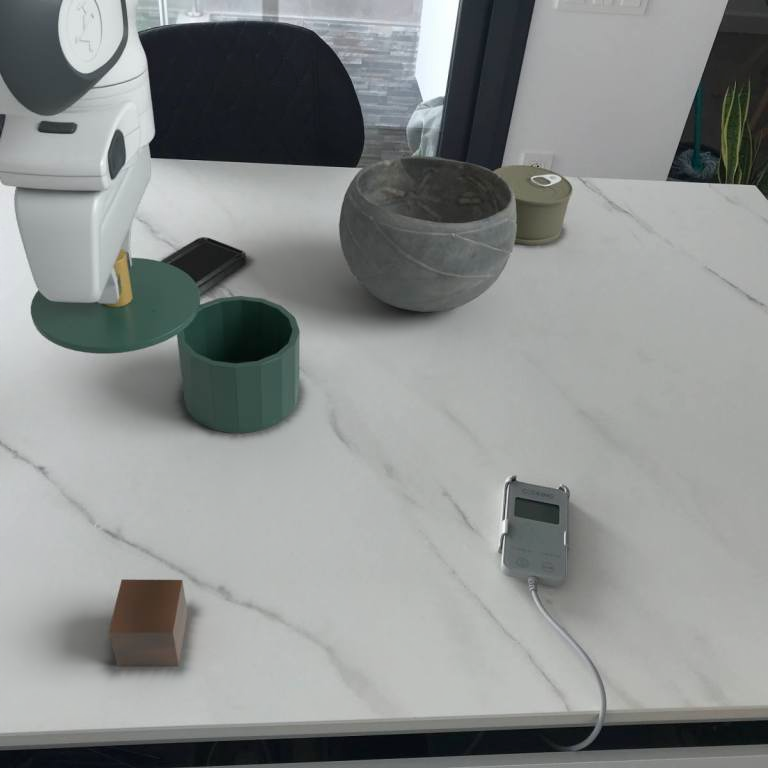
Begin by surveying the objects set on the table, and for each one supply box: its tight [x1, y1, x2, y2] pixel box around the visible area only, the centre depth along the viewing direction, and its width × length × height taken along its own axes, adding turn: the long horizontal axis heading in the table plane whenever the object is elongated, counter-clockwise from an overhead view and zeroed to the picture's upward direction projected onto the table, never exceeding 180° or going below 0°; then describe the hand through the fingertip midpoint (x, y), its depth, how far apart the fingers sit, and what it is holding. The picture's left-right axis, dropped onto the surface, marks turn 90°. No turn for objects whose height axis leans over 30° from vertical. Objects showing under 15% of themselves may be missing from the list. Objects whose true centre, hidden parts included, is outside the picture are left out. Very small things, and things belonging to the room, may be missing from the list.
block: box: [108, 578, 188, 667], centre depth 58 cm, size 4×4×4 cm
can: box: [492, 164, 573, 246], centre depth 114 cm, size 12×12×7 cm
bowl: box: [338, 155, 517, 313], centre depth 95 cm, size 21×21×15 cm
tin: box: [176, 295, 301, 434], centre depth 79 cm, size 12×12×8 cm
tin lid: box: [30, 249, 201, 355], centre depth 61 cm, size 13×13×5 cm
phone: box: [159, 236, 247, 296], centre depth 98 cm, size 8×1×15 cm
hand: (114, 285), depth 61 cm, fingers closed on tin lid, 2 cm apart
